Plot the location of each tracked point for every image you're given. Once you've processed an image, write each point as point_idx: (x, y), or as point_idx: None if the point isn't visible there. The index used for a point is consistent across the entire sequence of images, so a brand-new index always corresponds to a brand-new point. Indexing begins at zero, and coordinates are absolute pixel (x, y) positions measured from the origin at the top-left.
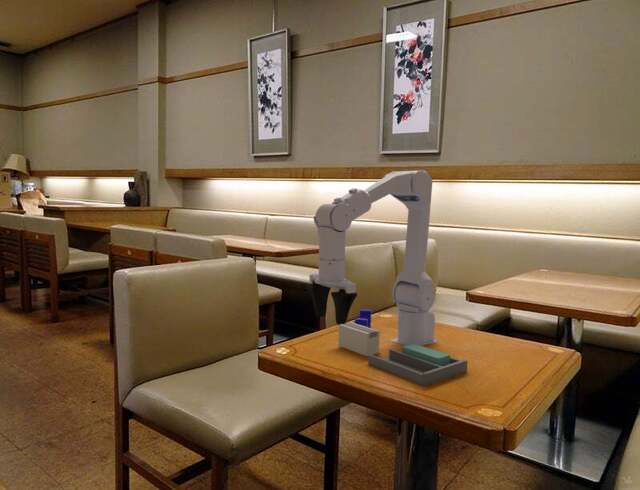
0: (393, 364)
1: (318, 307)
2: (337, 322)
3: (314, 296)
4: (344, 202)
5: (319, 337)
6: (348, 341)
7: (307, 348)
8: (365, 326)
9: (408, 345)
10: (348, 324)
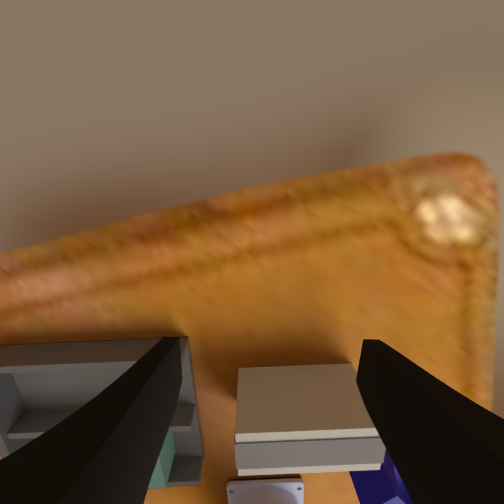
0: (81, 362)
1: (398, 389)
2: (163, 341)
3: (492, 456)
4: None
5: (457, 374)
6: (318, 388)
7: (407, 293)
8: (358, 486)
9: (160, 470)
10: (360, 448)
